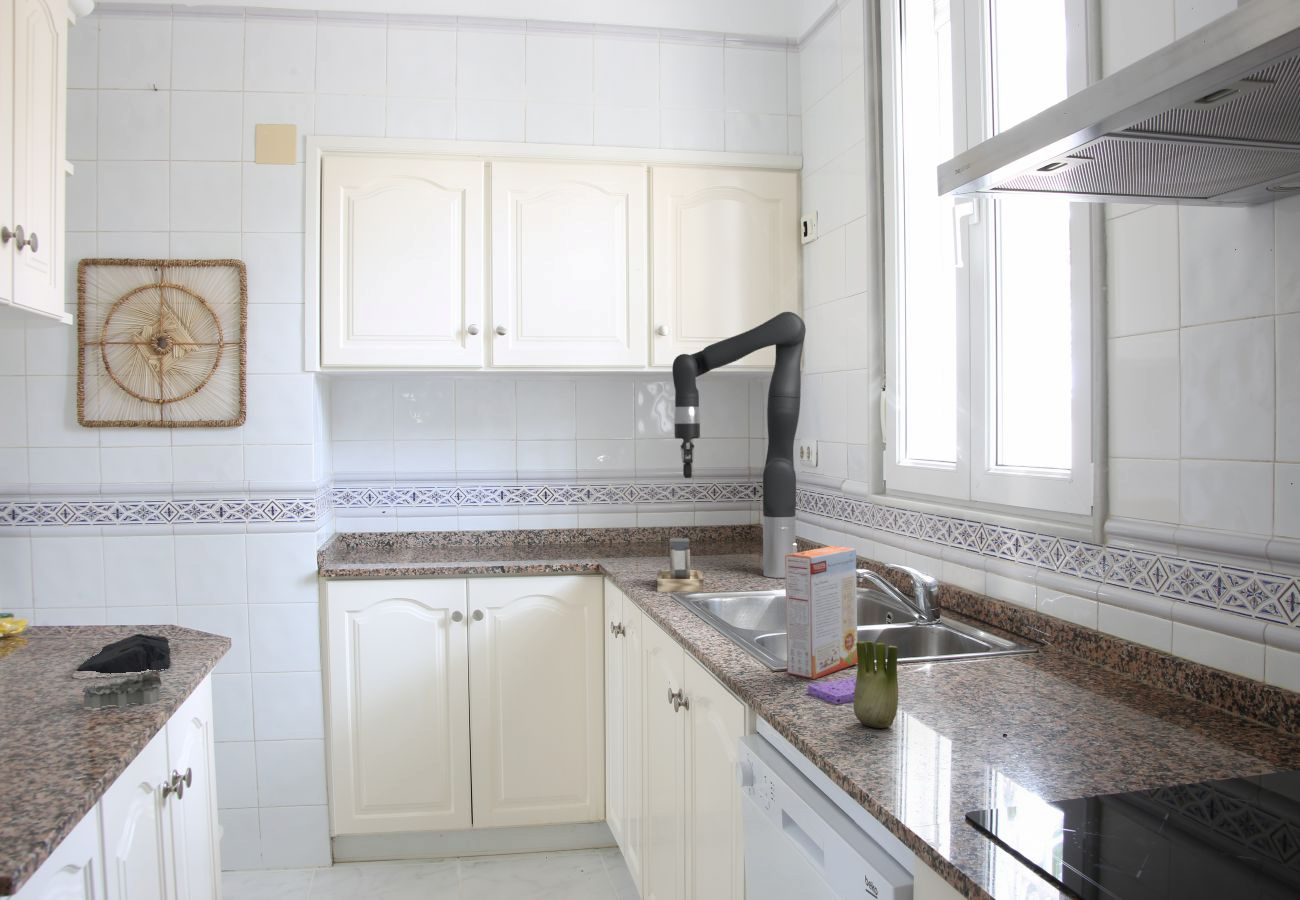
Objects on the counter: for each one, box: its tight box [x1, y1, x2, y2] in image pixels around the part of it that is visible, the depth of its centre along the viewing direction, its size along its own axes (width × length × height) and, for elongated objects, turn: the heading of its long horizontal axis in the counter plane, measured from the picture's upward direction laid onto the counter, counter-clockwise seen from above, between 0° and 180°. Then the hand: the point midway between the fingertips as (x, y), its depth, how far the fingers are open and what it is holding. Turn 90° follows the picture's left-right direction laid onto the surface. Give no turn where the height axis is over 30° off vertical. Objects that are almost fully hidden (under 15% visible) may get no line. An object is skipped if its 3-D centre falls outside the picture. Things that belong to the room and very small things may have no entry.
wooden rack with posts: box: [656, 548, 705, 593], centre depth 241 cm, size 12×16×10 cm
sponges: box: [807, 676, 857, 705], centre depth 143 cm, size 7×13×2 cm, turn 119°
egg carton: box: [81, 670, 163, 709], centre depth 140 cm, size 11×8×4 cm
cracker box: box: [784, 545, 858, 680], centre depth 156 cm, size 14×6×21 cm, turn 135°
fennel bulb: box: [853, 640, 899, 729], centre depth 127 cm, size 6×5×12 cm
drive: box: [669, 537, 690, 579], centre depth 241 cm, size 5×7×11 cm
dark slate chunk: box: [76, 633, 172, 674], centre depth 165 cm, size 15×22×5 cm
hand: (687, 477), depth 264 cm, fingers open, 8 cm apart
